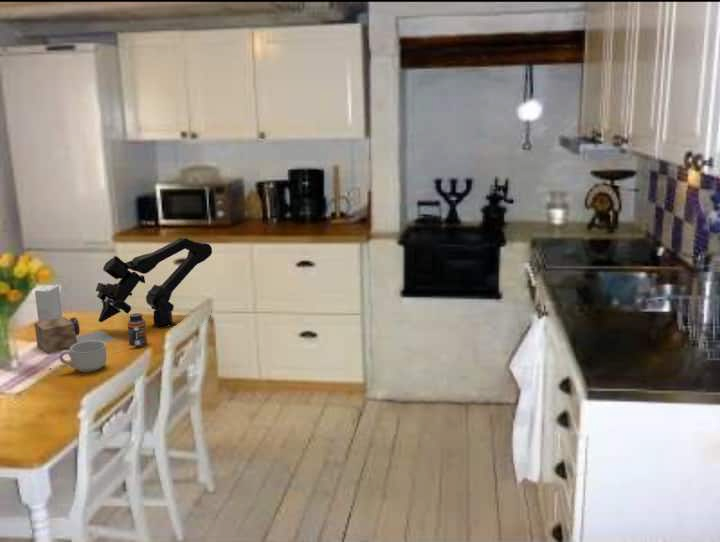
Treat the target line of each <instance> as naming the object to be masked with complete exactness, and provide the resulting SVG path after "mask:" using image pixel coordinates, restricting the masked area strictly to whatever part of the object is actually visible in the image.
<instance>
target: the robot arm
mask: <svg viewBox="0 0 720 542" xmlns="http://www.w3.org/2000/svg"><path fill="white" fill-rule="evenodd" d="M183 250H187V251H188V252H187V256H186V258H185V259H184V260H183V261H182V262H181V263H180V264H179V265H178V266H177V268H175V270H174V271H173V272H172V274H170V275H169V277H167V279H166V280H165V281H164V282H162V284H161V285H158V284H154V285H152V287H151V289H149V291H147V295H146V296H145V301H146V303H147V304H148V305H149V306H150V308H151V310H153V317H152V318H153V324H151V327H154V326H157V327H156V328H160V327H166V326H168V325H171V326H173V325H172V324H174V325H176V324H177V323H176V322H174V321H173V313H172V312H173V310H174V307H175V305H174V304H173V303H171V302H170V300H171V297H172V294H173V291H175V289H176V288H177V287H178V286H179V285H180V284H181V283H182V281H183V280H184V279H185V278H186V277H187V276H188V275H189V274H190V272H192V271H193V269H194V268H195V267H196V266H197V265H198V264H199V265H200V264H201V263H202V262H205V261H206V260H207V259H209V257H211V255H212V254H213V248H212V246H211V245H210V244H209V243H205V242H201V241H193V240H190V239H189V238H185V237H181V236H180V237H178V238H177V239H176V240H173V241H172V242H170V243H168V244H166V245H165V246H163V247H160V248H158V249H157V250H155V251H153V252H150V253H146V254H141V255H137V256H135V257H133V258H132V259H131V260H130V261H126V262H125V261H123V260H122V259H121V258H120V257H119V256H117V255H114V256H113V257H112V258H111V259H109V260H108V261H106V262H105V264H104V265H103V269H102V270H103V272H105V273H106V274H108V275H109V276H111V277H112V278H113V279H115V280H119V279H120V280H119V281H118V282H117V283H114V284H112V283H101V282H98V283H97V284H96V285H97V286H96V289H95V291H96V292H98V293H97V295H96V297H97V298H98V299H99V300H101V303H102V309H101V312H100V315H99V317H98V322H99V323H103V322H105V321H106V320H108V319H109V318H112V317H113V316H115V315H117V314H119V313H122V311H123V312H124V313H126V314H129V313H130V312H131V310H132V307H131V305H129V304H128V303H127V302H126V300H127V299H128V298H129V297H131V296H132V295H133V293H132V292H133V290H134V289H135V288H136V286H137V285H138V284H139V283H142V284H146V280H145V275H146V274H148V273H150V272H151V271H152V270H153V269H155V268H156V267H157V265H158V264H159V263H161V262H163V261H164V260H166V259H168V258H170V257H173V256H174V255H176V254H178V253H179V252H181V251H182V252H183ZM131 271H132V272H131ZM138 273H140V274H141V275H140V274H138ZM144 274H145V275H144ZM168 327H169V326H168ZM166 328H167V327H166Z"/></svg>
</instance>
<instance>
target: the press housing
mask: <svg viewBox="0 0 720 542" xmlns="http://www.w3.org/2000/svg"><path fill="white" fill-rule="evenodd" d="M34 330H35V338H36V345H37V348H39V350H40V349H42V350H41V351H43V352H44V353H45V352H46V353H45V354H47V355H48V353H52V352H57V351H61V350H66V349H70V347H71V346H72V345H74V344H76V343H77V340H76V332H75V324H74V323H73V322H71V321H70V319H67V318H66V317H64V316H63V318H58V319H53V320H48V321H43V322H39V321H38V322H34Z"/></svg>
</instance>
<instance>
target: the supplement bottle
mask: <svg viewBox="0 0 720 542" xmlns="http://www.w3.org/2000/svg"><path fill="white" fill-rule="evenodd" d="M146 325H147V324H146V320H145V319H143V315H142V313H139V312H138V313H131V314H130V315H129V320H128V322H127V331H128V343H129V345H130V346H134V347H133V348H135V349H137V348H143V347H145V346H147V345H148V337H147V328H146Z"/></svg>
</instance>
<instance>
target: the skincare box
mask: <svg viewBox="0 0 720 542" xmlns="http://www.w3.org/2000/svg"><path fill="white" fill-rule="evenodd" d="M34 297H35V305H36V311H37V312H36V313H37V319H38V322H43V321H48V320H53V319H58V318H63V317H64V316H63V308H62V303H61V294H60V286H59V285H48V284H47V285H44V286H42V287H39V288H38V289H35V290H34Z"/></svg>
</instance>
